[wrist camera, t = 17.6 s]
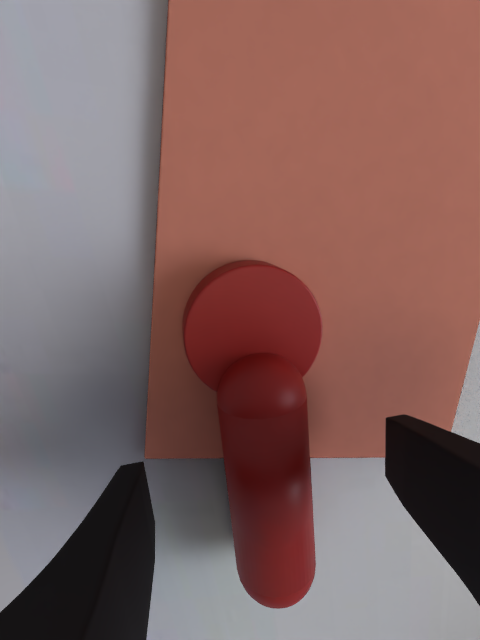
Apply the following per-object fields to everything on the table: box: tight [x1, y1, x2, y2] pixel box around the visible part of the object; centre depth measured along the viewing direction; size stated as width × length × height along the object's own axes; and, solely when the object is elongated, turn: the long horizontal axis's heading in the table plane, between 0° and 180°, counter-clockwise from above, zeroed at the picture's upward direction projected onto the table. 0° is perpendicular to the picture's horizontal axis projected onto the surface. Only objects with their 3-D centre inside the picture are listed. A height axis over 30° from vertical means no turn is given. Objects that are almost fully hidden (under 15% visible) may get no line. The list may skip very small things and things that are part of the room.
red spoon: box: [182, 260, 323, 608], centre depth 12 cm, size 11×4×3 cm, turn 5°
